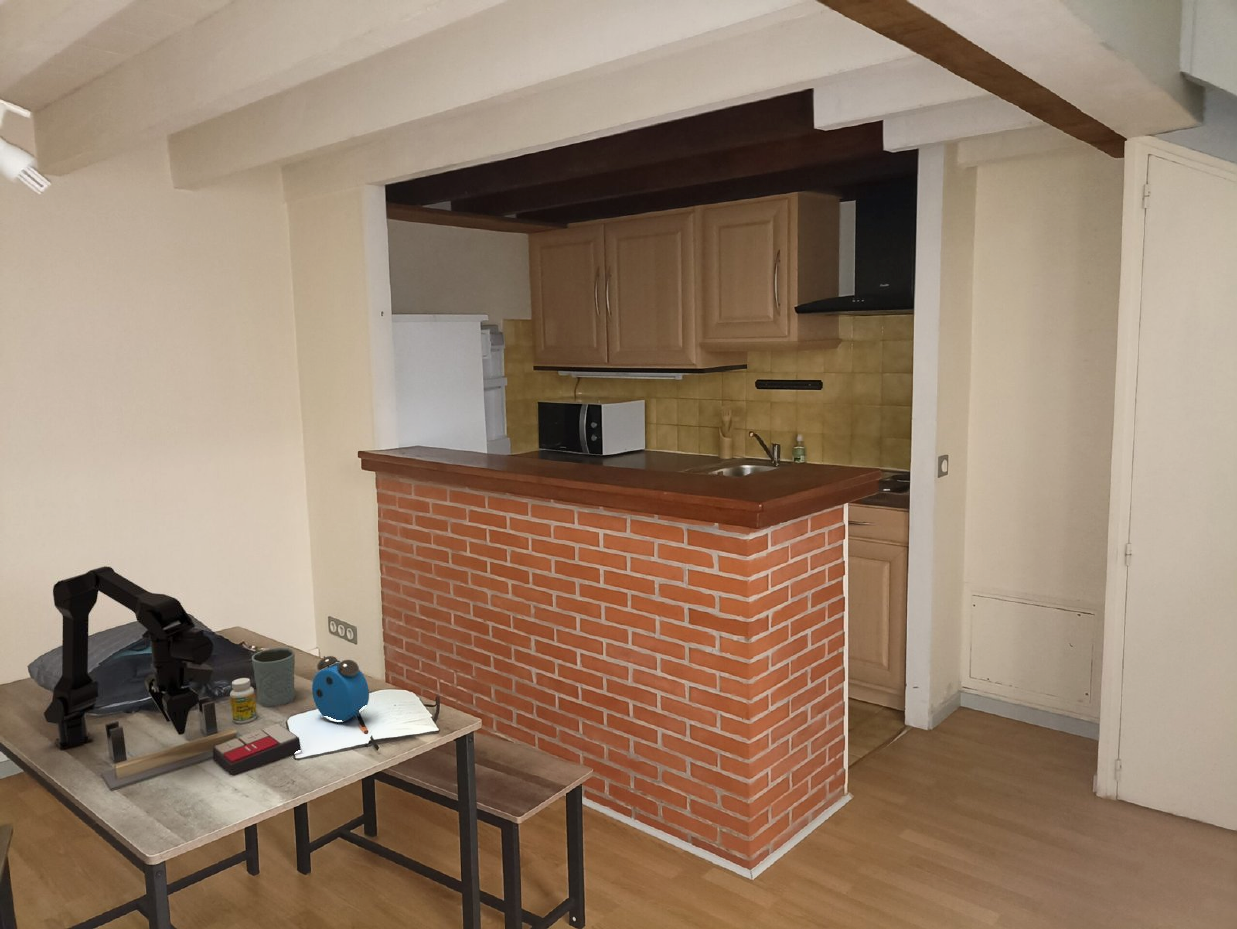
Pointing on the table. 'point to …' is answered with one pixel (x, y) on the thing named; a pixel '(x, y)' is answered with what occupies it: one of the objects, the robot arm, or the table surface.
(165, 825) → the table surface
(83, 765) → the table surface
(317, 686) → the alarm clock
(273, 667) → the green plant pot
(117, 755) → the bracket
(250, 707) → the supplement bottle
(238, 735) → the rubber mat
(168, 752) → the beech rail
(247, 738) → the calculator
